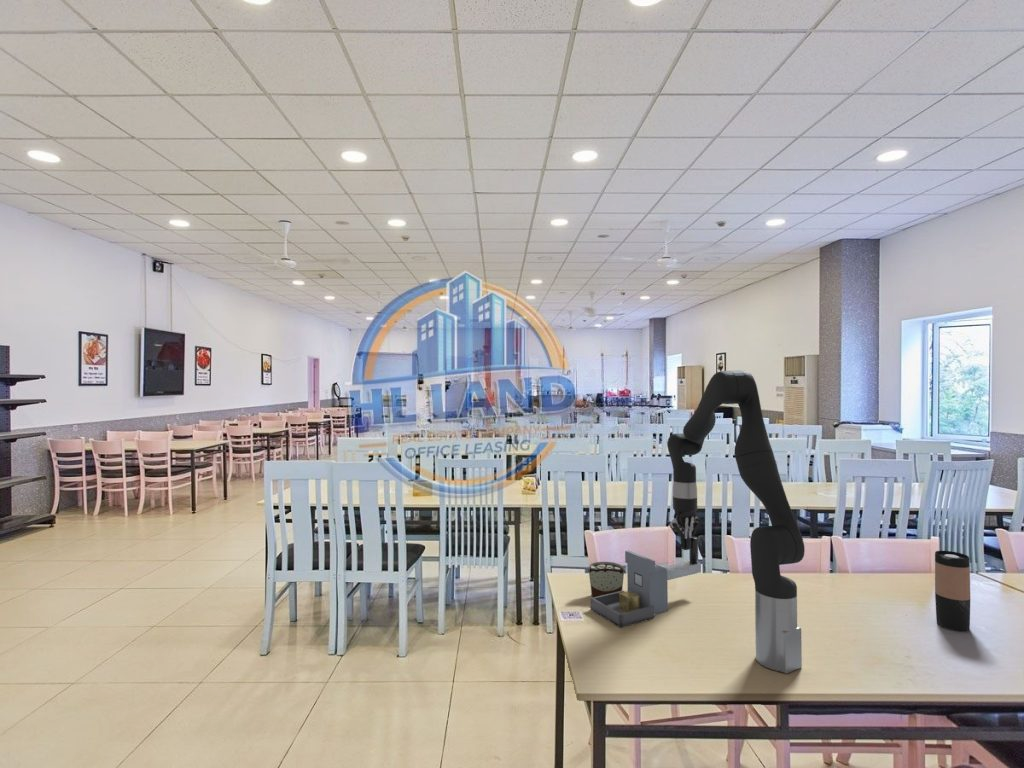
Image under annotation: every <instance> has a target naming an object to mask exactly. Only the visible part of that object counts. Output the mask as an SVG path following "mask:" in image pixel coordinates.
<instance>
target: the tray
mask: <svg viewBox="0 0 1024 768" xmlns="http://www.w3.org/2000/svg"><path fill="white" fill-rule="evenodd" d="M621 592H626V590H622V591H618V592H614V593H610V594H606V595H601V596H597V597H593V598H592V597H590V610H591V611H592V612H594V613H595V614H597V615H599V616H600V617H602V618H604V619H605V618H606V619H605V620H607V621H608V620H609V621H608V622H610V623H612V624H613V623H614V625H615V626H617V627H618V626H619V627H618V628H620V629H622V628H626V627H628V626H632V624H633V625H636V624H639V623H643V622H647V621H650V619H651V620H654V619H655V615H654V606H648V607H645V608H639V609H637V610H633V611H629V612H626V611H624V610H622V609H620V608H619V593H621ZM653 618H654V619H653ZM646 620H647V621H646ZM625 626H626V627H625Z"/></svg>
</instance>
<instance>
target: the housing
mask: <svg viewBox="0 0 1024 768" xmlns="http://www.w3.org/2000/svg"><path fill="white" fill-rule="evenodd" d="M624 553H625V554H624V556H625V558H624V559H625V560H624V563H625V564H627V571H626V572H627V573H626V575H627V576H626V577H627V591H631V592H633V593H635V594H637V595H639V608H645V607H648V606H654V614H655V615H658V614H661V612H662V613H666V612H668V611H669V610H668V607H669V606H668V605H669V604H668V602H669V601H668V594H669V593H668V589H669V588H668V580H667V569H666V568H663V567H664V566H661V565H658V564H656V560H653V559H651V558H648V557H646V556H643V555H640V554H639V553H636V552H633V551H631V550H625V551H624ZM635 573H637V574H640V575H642V586H640V585H638V584H636V583H635Z"/></svg>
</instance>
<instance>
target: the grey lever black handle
mask: <svg viewBox="0 0 1024 768" xmlns="http://www.w3.org/2000/svg"><path fill="white" fill-rule="evenodd" d="M662 567H663V568H666V569H667V581H671V580H674V579H679V578H683V577H687V576H692V575H695V574H699V573H702V562H699V537H697V536H691V538H690V549H689V561H685V562H681V563H676V564H671V565H667V566H666V565H665V566H662ZM635 583H636V584H638V585H640V586H642V575H640V574H637V573H635Z"/></svg>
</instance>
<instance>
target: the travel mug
mask: <svg viewBox="0 0 1024 768" xmlns="http://www.w3.org/2000/svg"><path fill="white" fill-rule="evenodd" d="M970 562H971V561H970V557H969V556H968V555H967V554H964V553H961V552H957V551H950V550H936V551H934V601H935V618H936V624H937V625H938V626H940V627H942V628H944V629H947V630H950V631H955V632H962V633H963V632H964V633H965V632H970V627H971V573H970V572H971V567H970Z"/></svg>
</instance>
